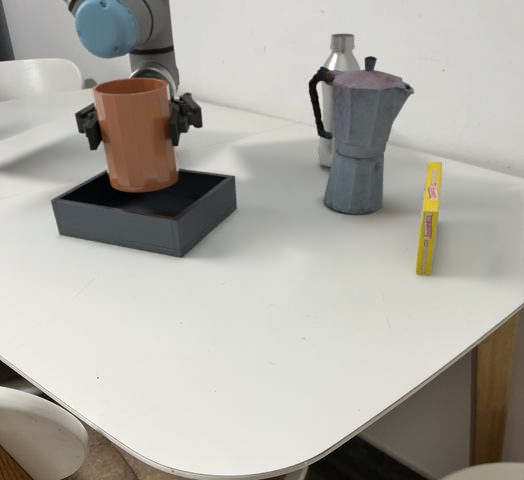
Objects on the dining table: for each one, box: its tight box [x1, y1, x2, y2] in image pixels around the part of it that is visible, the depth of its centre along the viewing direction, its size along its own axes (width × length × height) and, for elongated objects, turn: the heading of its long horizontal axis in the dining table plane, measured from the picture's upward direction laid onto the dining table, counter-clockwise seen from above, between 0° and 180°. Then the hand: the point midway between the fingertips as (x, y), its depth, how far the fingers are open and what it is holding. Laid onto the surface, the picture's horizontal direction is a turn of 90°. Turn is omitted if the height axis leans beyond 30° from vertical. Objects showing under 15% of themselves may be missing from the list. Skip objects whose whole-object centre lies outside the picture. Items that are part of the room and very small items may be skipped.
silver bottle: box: [317, 33, 361, 168], centre depth 93 cm, size 6×7×20 cm
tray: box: [50, 168, 238, 258], centre depth 81 cm, size 20×17×5 cm
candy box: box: [415, 161, 443, 276], centre depth 71 cm, size 16×2×8 cm, turn 165°
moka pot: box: [308, 55, 415, 215], centre depth 79 cm, size 10×15×20 cm, turn 60°
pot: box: [90, 77, 180, 192], centre depth 75 cm, size 9×9×12 cm
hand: (132, 137), depth 71 cm, fingers closed on pot, 9 cm apart
